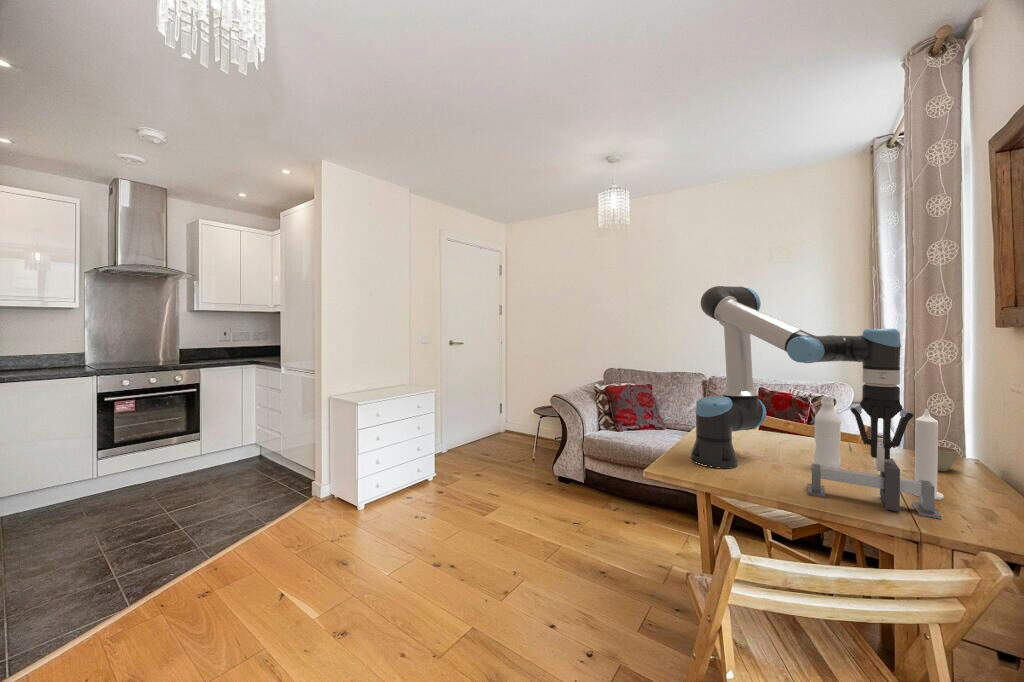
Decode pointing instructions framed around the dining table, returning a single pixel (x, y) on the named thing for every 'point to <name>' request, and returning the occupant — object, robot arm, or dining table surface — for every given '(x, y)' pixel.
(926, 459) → the candle
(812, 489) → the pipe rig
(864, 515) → the dining table surface
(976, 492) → the dining table surface
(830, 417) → the water bottle
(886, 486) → the collar
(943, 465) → the flower pot
